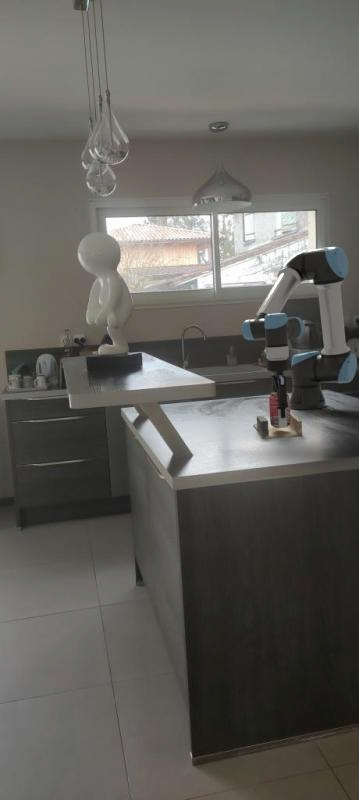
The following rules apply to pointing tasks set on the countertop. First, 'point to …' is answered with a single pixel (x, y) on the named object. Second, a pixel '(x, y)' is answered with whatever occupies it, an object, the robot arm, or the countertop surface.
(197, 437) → the countertop surface
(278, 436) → the u-shaped channel bracket
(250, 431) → the countertop surface
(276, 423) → the soda can
